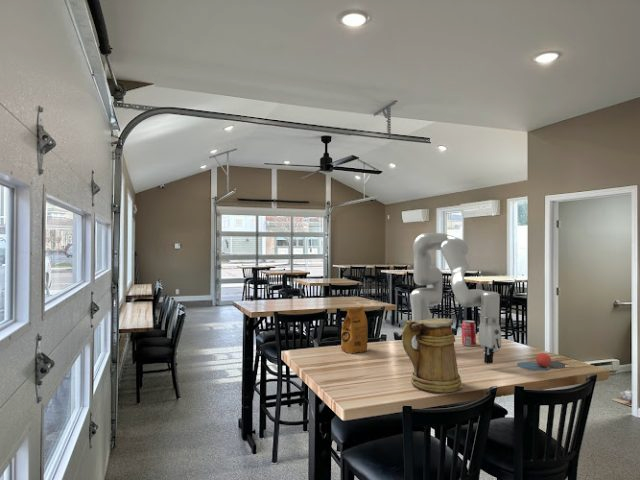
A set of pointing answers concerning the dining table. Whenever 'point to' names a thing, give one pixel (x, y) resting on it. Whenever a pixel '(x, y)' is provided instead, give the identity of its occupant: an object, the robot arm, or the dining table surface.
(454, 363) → the tankard
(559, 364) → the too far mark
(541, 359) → the ball
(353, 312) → the coffee package
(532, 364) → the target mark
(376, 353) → the dining table surface
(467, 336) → the soda can
